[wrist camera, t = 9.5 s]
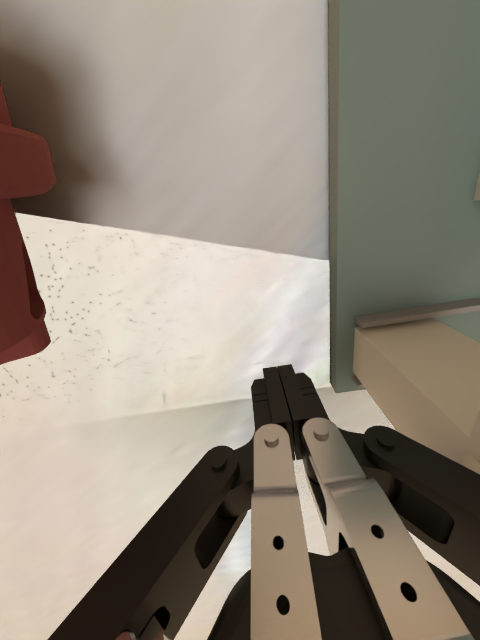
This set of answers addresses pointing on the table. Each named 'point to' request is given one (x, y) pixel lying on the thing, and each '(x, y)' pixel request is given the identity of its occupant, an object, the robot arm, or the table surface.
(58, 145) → the table surface
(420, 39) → the board
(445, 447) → the cream block
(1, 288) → the mechanical component
